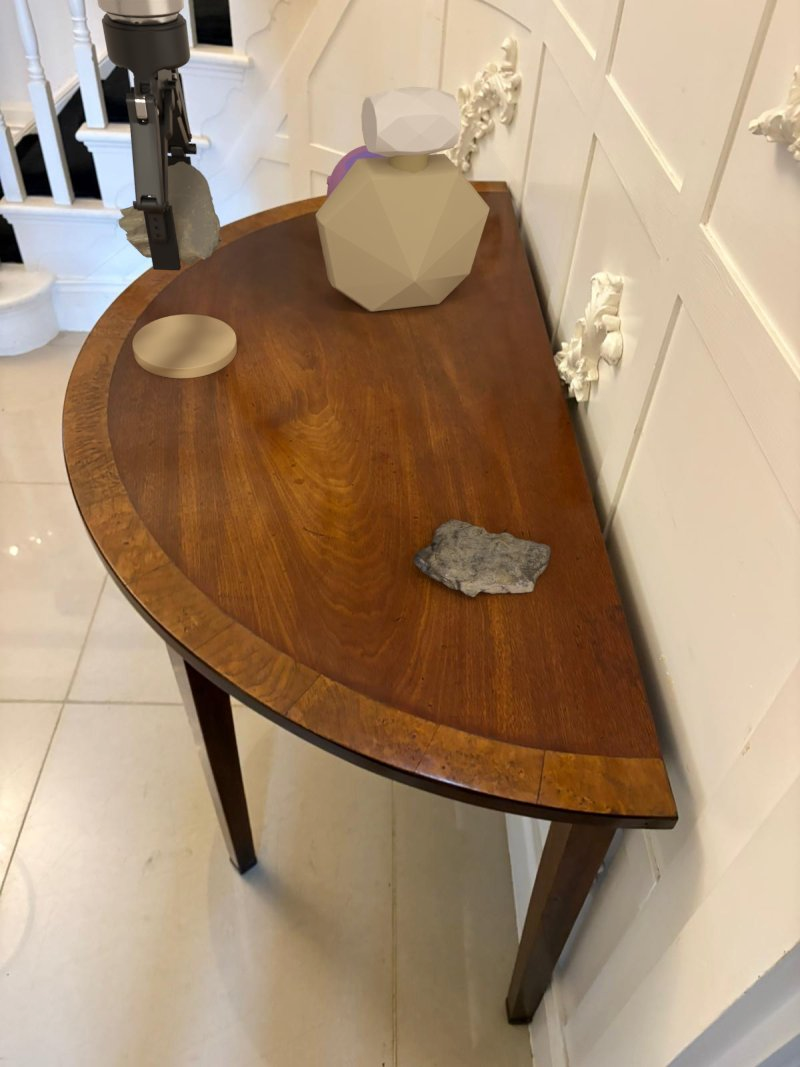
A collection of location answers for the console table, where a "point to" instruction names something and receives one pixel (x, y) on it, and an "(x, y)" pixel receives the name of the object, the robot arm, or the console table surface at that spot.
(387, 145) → the perfume bottle
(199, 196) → the fossil
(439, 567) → the stone
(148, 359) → the maple disc
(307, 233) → the console table surface
